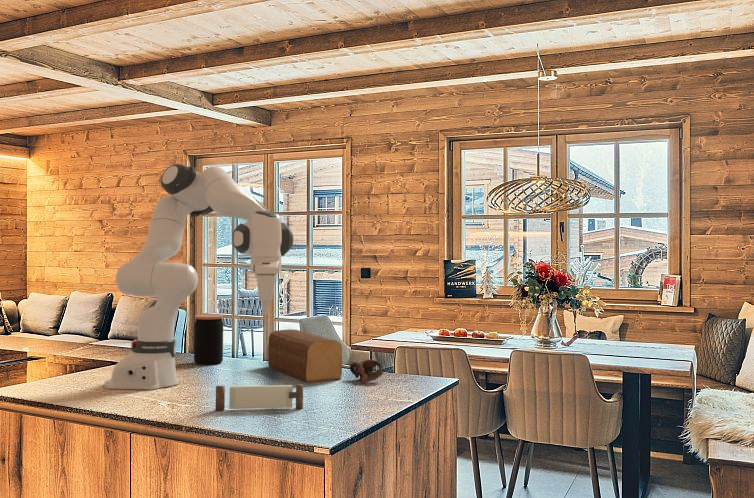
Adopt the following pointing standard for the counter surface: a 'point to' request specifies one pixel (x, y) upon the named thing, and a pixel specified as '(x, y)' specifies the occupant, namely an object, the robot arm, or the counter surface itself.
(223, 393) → the hinge post
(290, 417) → the counter surface
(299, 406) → the post
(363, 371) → the pottery mug
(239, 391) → the gate
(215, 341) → the coffee jar
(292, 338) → the bread
